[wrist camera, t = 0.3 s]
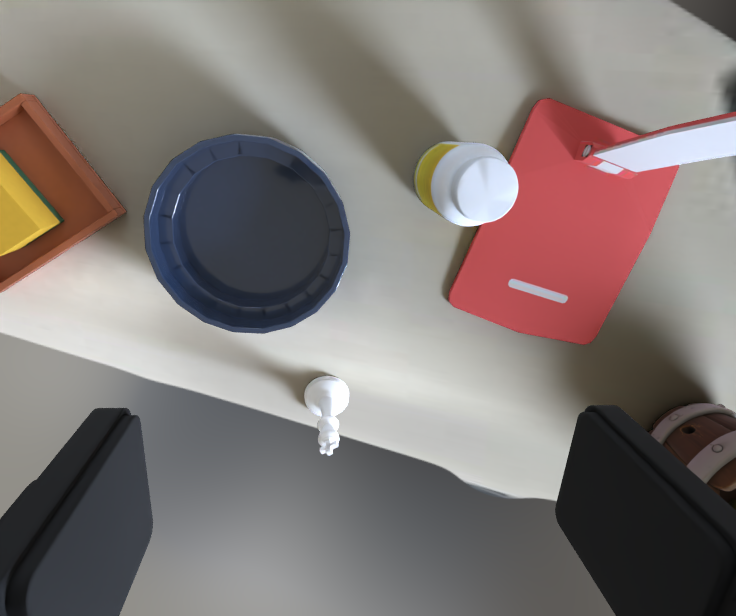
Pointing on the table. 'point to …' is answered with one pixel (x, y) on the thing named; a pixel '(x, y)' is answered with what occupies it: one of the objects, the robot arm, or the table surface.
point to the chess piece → (327, 408)
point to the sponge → (21, 208)
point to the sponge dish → (51, 185)
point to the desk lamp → (576, 219)
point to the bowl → (246, 233)
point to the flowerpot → (703, 444)
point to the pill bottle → (465, 182)
